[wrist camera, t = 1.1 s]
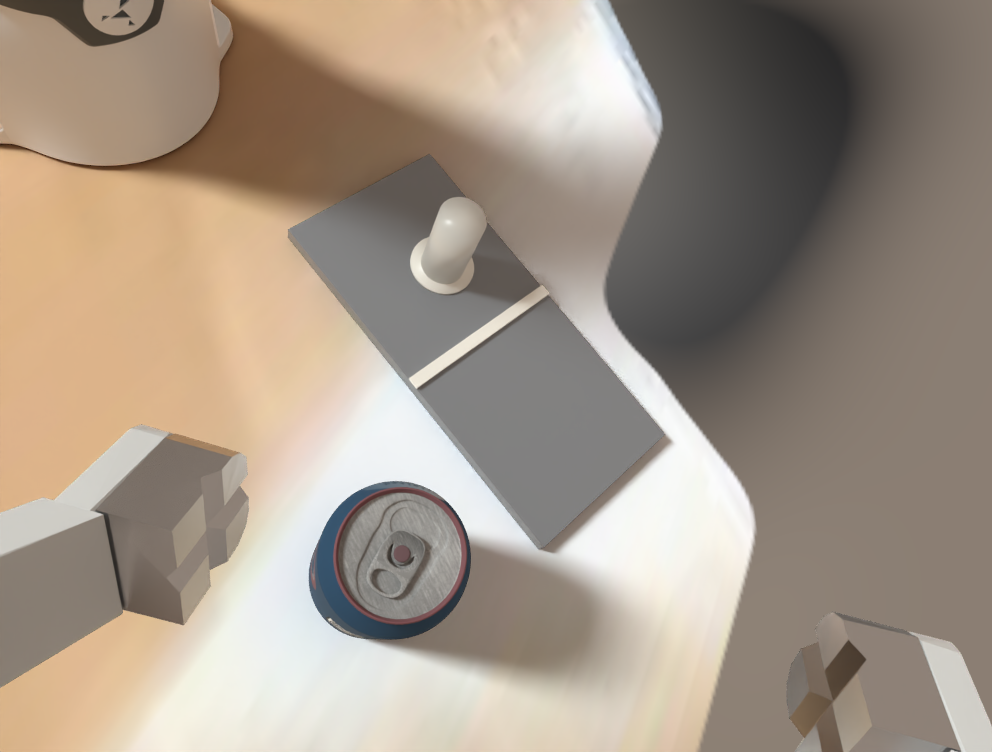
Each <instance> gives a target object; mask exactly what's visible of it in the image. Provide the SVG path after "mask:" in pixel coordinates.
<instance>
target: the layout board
mask: <svg viewBox="0 0 992 752" xmlns="http://www.w3.org/2000/svg"><path fill="white" fill-rule="evenodd" d="M288 238H289V239H290V241H291V242H292V243H293V244H294V246H295V247H296V248H297V249H298V251H299V252H300V253H301V254H302V256H303V257H304V258H305V259H306V260H307V262H308V263H309V264H310V265H311V267H312V268H313V269H314V270H315V272H316V273H317V274H318V275H319V277H320V278H321V279H322V280H323V282H324V283H325V284H326V285H327V287H328V288H329V289H330V290H331V292H332V293H333V294H334V295H335V297H336V298H337V299H338V300H339V302H340V303H341V304H342V305H343V307H344V308H345V309H346V310H347V312H348V313H349V314H350V315H351V317H352V318H353V319H354V320H355V321H356V323H357V324H358V325H359V326H360V328H361V329H362V330H363V331H364V333H365V334H366V335H367V336H368V338H369V339H370V340H371V341H372V343H373V344H374V345H375V346H376V348H377V349H378V350H379V351H380V353H381V354H382V355H383V356H384V358H385V359H386V360H387V361H388V363H389V364H390V365H391V366H392V368H393V369H394V370H395V371H396V373H397V374H398V375H399V376H400V378H401V379H402V380H403V381H404V382H405V384H406V385H407V386H408V387H409V389H410V390H411V391H412V392H413V394H414V395H415V396H416V397H417V399H418V400H419V401H420V402H421V404H422V405H423V406H424V407H425V409H426V410H427V411H428V412H429V414H430V415H431V416H432V417H433V419H434V420H435V421H436V422H437V424H438V425H439V426H440V427H441V429H442V430H443V431H444V432H445V434H446V435H447V436H448V437H449V439H450V440H451V441H452V442H453V443H454V445H455V446H456V447H457V448H458V450H459V451H460V452H461V453H462V455H463V456H464V457H465V458H466V460H467V461H468V462H469V463H470V465H471V466H472V467H473V468H474V470H475V471H476V472H477V473H478V475H479V476H480V477H481V478H482V480H483V481H484V482H485V483H486V485H487V486H488V487H489V488H490V490H491V491H492V492H493V493H494V495H495V496H496V497H497V498H498V500H499V501H500V502H501V503H502V505H503V506H504V507H505V508H506V509H507V511H508V512H509V513H510V514H511V516H512V517H513V518H514V519H515V521H516V522H517V523H518V524H519V526H520V527H521V528H522V529H523V531H524V532H525V533H526V534H527V536H528V537H529V538H530V539H531V541H532V542H533V543H534V544H535V546H536V547H537V548H538V549H541V548H544V547H545V546H546V545H547V544H548V543H549V542H550V541H551V540H552V539H553V538H555V537H556V536H557V535H558V534H559V533H560V532H561V531H562V530H563V529H564V528H565V527H566V526H567V525H568V524H570V523H571V522H572V521H573V520H574V519H575V518H576V517H577V516H578V515H579V514H580V513H581V512H582V511H583V510H585V509H586V508H587V507H588V506H589V505H590V504H591V503H592V502H593V501H594V500H595V499H596V498H597V497H599V496H600V495H601V494H602V493H603V492H604V491H605V490H606V489H607V488H608V487H609V486H610V485H611V484H612V483H614V482H615V481H616V480H617V479H618V478H619V477H620V476H621V475H622V474H623V473H624V472H625V471H626V470H627V469H629V468H630V467H631V466H632V465H633V464H634V463H635V462H636V461H637V460H638V459H639V458H640V457H641V456H642V455H644V454H645V453H646V452H647V451H648V450H649V449H650V448H651V447H652V446H653V445H654V444H655V443H656V442H657V441H659V440H660V439H661V438H662V437H663V436H664V435H665V434H664V433H663V431H662V430H661V429H660V428H659V427H658V425H657V424H656V423H655V422H654V421H653V419H652V418H651V417H650V416H649V415H648V413H647V412H646V411H645V410H644V409H643V408H642V406H641V405H640V404H639V403H638V402H637V400H636V399H635V398H634V397H633V396H632V394H631V393H630V392H629V391H628V390H627V388H626V387H625V386H624V385H623V384H622V382H621V381H620V380H619V379H618V378H617V377H616V375H615V374H614V373H613V372H612V371H611V369H610V368H609V367H608V366H607V365H606V363H605V362H604V361H603V360H602V359H601V357H600V356H599V355H598V354H597V353H596V352H595V350H594V349H593V348H592V347H591V346H590V344H589V343H588V342H587V341H586V340H585V338H584V337H583V336H582V335H581V334H580V332H579V331H578V330H577V329H576V328H575V326H574V325H573V324H572V323H571V322H570V321H569V319H568V318H567V317H566V316H565V315H564V313H563V312H562V311H561V310H560V309H559V307H558V306H557V305H556V304H555V303H554V301H553V300H552V299H551V298H550V297H549V294H550V293H549V292H548V291H547V289H546V288H545V287H544V286H543V285H541V286H540V285H539V284H538V282H537V281H536V280H535V279H534V278H533V276H532V275H531V274H530V273H529V272H528V270H527V269H526V268H525V267H524V266H523V265H522V263H521V262H520V261H519V260H518V259H517V257H516V256H515V255H514V254H513V253H512V251H511V250H510V249H509V248H508V247H507V245H506V244H505V243H504V242H503V241H502V239H501V238H500V237H499V236H498V235H497V234H496V232H495V231H494V230H493V229H492V228H491V226H490V225H489V224H488V223H487V218H486V215H485V212H484V211H483V209H482V208H481V207H480V206H479V205H478V204H477V203H476V202H474V201H473V200H471V199H468V198H466V197H465V195H464V194H463V193H462V192H461V191H460V189H459V188H458V187H457V186H456V185H455V183H454V182H453V181H452V180H451V179H450V177H449V176H448V175H447V174H446V173H445V172H444V170H443V169H442V168H441V167H440V166H439V164H438V163H437V162H436V161H435V160H434V158H433V157H432V156H431V155H430V154H428V155H426V156H425V157H423V158H421V159H419V160H417V161H415V162H413V163H411V164H410V165H408V166H406V167H404V168H402V169H400V170H398V171H397V172H395V173H393V174H391V175H389V176H387V177H385V178H383V179H382V180H380V181H378V182H376V183H374V184H372V185H370V186H368V187H367V188H365V189H363V190H361V191H359V192H357V193H355V194H354V195H352V196H350V197H348V198H346V199H344V200H342V201H340V202H339V203H337V204H335V205H333V206H331V207H329V208H327V209H325V210H324V211H322V212H320V213H318V214H316V215H314V216H312V217H311V218H309V219H307V220H305V221H303V222H301V223H299V224H297V225H296V226H294V227H292V228H290V229H288Z"/></svg>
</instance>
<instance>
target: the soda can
mask: <svg viewBox="0 0 992 752" xmlns="http://www.w3.org/2000/svg"><path fill="white" fill-rule="evenodd" d="M470 563H471V553H470V545H469V540H468V536H467V533H466V530H465V528H464V525H463V523H462V521H461V519H460V518H459V516H458V515H457V513H456V512H455V510H454V509H453V508H452V507H451V506H450V505H449V504H448V502H446V501H445V500H444V499H443V498H442V497H441V496H439V495H438V494H436V493H435V492H433V491H431V490H430V489H427V488H425V487H423V486H420V485H417V484H414V483H409V482H402V481H390V482H382V483H377V484H374V485H371V486H368V487H366V488H363V489H361V490H359V491H357V492H356V493H354V494H353V495H351V496H350V497H349V498H347V499H346V500H345V501H344V502H343V503H342V504H341V505H340V506H339V507H338V508H337V509H336V510H335V512H334V513H333V514H332V516H331V517H330V519H329V520H328V522H327V524H326V526H325V528H324V530H323V532H322V535H321V537H320V539H319V541H318V544H317V546H316V548H315V550H314V553H313V556H312V559H311V563H310V568H309V586H310V592H311V596H312V599H313V601H314V604H315V606H316V608H317V610H318V611H319V613H320V614H321V615H322V617H323V618H324V619H325V620H326V621H327V622H328V623H329V624H330V625H331V626H333V627H334V628H335V629H337V630H338V631H340V632H342V633H344V634H347V635H349V636H352V637H357V638H363V639H404V638H409V637H413V636H416V635H419V634H422V633H424V632H426V631H428V630H430V629H431V628H433V627H434V626H436V625H437V624H439V623H440V622H441V621H442V620H444V619H445V618H446V617H447V616H448V615H449V614H450V612H451V611H452V610H453V609H454V607H455V606H456V605H457V603H458V602H459V600H460V598H461V596H462V594H463V592H464V590H465V587H466V584H467V581H468V577H469V572H470Z"/></svg>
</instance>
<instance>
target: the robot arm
mask: <svg viewBox="0 0 992 752" xmlns="http://www.w3.org/2000/svg"><path fill="white" fill-rule="evenodd" d="M232 39H233V32H232V27H231V23H230V20H229V19H228V17H227V16H226V15H225V14H223V13H222V12H221V11H220V10H219V9H218V8H216V7H215V6H214V5H213V4H212V3H211V0H0V143H6V144H15V145H19V146H22V147H26V148H29V149H31V150H34V151H36V152H39V153H42V154H44V155H47V156H50V157H53V158H56V159H60V160H64V161H68V162H73V163H78V164H85V165H97V166H113V165H125V164H132V163H138V162H143V161H146V160H150V159H153V158H156V157H159V156H162V155H164V154H167V153H169V152H171V151H173V150H175V149H176V148H178V147H180V146H181V145H183V144H184V143H186V142H187V141H189V140H190V139H191V138H192V137H194V136H195V135H196V134H197V133H198V132H199V131H200V130H201V129H202V128H203V126H204V125H205V124H206V122H207V121H208V119H209V118H210V116H211V114H212V113H213V111H214V108H215V106H216V103H217V99H218V94H219V68H220V62H221V60H222V58H223V57H224V55H225V54H226V52H227V50H228V49H229V47H230V45H231V42H232ZM247 475H248V472H247V460H246V456H244V455H243V454H241V453H239V452H236V451H232V450H229V449H226V448H222V447H219V446H216V445H212V444H209V443H205V442H202V441H199V440H195V439H192V438H189V437H185V436H182V435H178V434H173V433H169V432H166V431H163V430H159V429H156V428H152V427H149V426H146V425H142V424H141V425H139V426H136V427H133V428H131V429H129V430H128V431H127V432H126V433H125V434H124V435H123V436H122V437H120V438H119V439H118V440H117V441H116V442H115V443H114V444H113V445H112V446H111V447H110V448H109V449H108V450H107V451H106V452H104V453H103V454H102V455H101V456H100V457H99V458H98V459H97V460H96V461H95V462H94V463H93V464H92V465H91V466H90V467H89V468H87V469H86V470H85V471H84V472H83V473H82V474H81V475H80V476H79V477H78V478H77V479H76V480H75V481H74V482H73V483H71V484H70V485H69V486H68V487H67V488H66V489H65V490H64V491H63V492H62V493H61V494H60V495H59V496H58V497H57V498H56V499H54V500H51V499H47V498H40V499H38V500H35V501H32V502H29V503H26V504H24V505H21V506H18V507H15V508H12V509H10V510H7V511H4V512H1V513H0V688H1V687H2V686H4V685H6V684H7V683H9V682H11V681H12V680H14V679H16V678H17V677H19V676H21V675H22V674H24V673H26V672H27V671H29V670H30V669H32V668H34V667H35V666H37V665H39V664H40V663H42V662H44V661H45V660H47V659H49V658H50V657H52V656H54V655H55V654H57V653H59V652H60V651H62V650H63V649H65V648H67V647H68V646H70V645H72V644H73V643H75V642H77V641H78V640H80V639H82V638H83V637H85V636H87V635H88V634H90V633H92V632H93V631H95V630H96V629H98V628H100V627H101V626H103V625H105V624H106V623H108V622H110V621H111V620H113V619H115V618H116V617H118V616H120V615H121V614H122V613H123V610H126V611H130V612H134V613H138V614H142V615H146V616H150V617H154V618H157V619H161V620H165V621H169V622H173V623H177V624H181V625H184V624H185V623H186V621H187V620H188V618H189V617H190V616H191V614H192V613H193V611H194V610H195V608H196V607H197V605H198V604H199V602H200V601H201V600H202V598H203V597H204V595H205V594H206V592H207V591H208V589H209V588H210V586H211V585H210V570H211V569H213V568H215V567H217V566H219V565H221V564H223V563H225V562H227V561H228V560H229V558H230V557H231V555H232V554H233V552H234V551H235V549H236V547H237V546H238V544H239V541H240V539H241V537H242V534H243V532H244V529H245V527H246V523H247V517H248V512H249V498H248V496H247V495H246V494H245V492H244V491H243V490H242V488H241V487H240V484H241V483H242V482H243V480H244V479H245V477H246V476H247ZM815 629H816V634H817V639H818V642H817V643H814V644H812V645H809V646H806V647H804V648H801V649H800V651H799V653H798V654H797V656H796V658H795V659H794V661H793V662H792V664H791V668H790V672H789V676H788V680H787V706H788V713H789V719H790V720H791V721H792V723H793V724H794V725H795V727H796V728H797V729H798V731H799V732H800V733H801V735H802V736H803V737H804V739H803V740H802V742H801V743H800V745H799V746H798V748H797V749H796V751H795V752H992V725H991V723H990V720H989V718H988V716H987V713H986V711H985V709H984V707H983V704H982V702H981V700H980V697H979V695H978V693H977V691H976V688H975V686H974V683H973V681H972V679H971V676H970V674H969V672H968V669H967V667H966V665H965V662H964V660H963V658H962V655H961V653H960V652H959V650H958V649H957V648H956V647H955V646H954V645H953V644H952V643H951V642H948V641H944V640H940V639H937V638H933V637H928V636H925V635H921V634H917V633H914V632H907V631H905V630H902V629H898V628H894V627H890V626H887V625H883V624H879V623H875V622H871V621H867V620H863V619H859V618H856V617H851V616H848V615H843V614H840V613H836V612H831V613H829V614H827V615H826V616H824V617H823V618H822V619H821V621H820V622H819V624H818V625H817V626H816V628H815Z"/></svg>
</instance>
